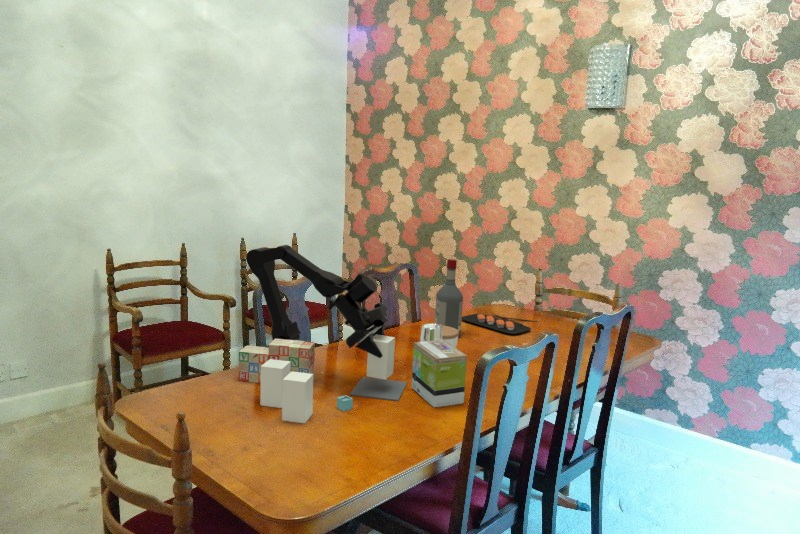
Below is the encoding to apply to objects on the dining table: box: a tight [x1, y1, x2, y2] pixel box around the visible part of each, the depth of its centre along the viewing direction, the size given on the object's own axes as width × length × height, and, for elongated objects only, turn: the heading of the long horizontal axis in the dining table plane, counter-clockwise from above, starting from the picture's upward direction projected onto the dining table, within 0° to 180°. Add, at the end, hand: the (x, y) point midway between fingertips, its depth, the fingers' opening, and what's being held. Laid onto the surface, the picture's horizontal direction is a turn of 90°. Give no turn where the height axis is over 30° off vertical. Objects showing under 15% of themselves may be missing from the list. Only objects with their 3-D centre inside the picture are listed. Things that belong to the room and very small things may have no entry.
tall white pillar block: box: [281, 371, 314, 424], centre depth 151 cm, size 6×6×11 cm
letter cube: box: [336, 394, 354, 412], centre depth 159 cm, size 3×3×3 cm
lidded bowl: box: [440, 324, 459, 349], centre depth 206 cm, size 13×13×11 cm
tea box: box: [411, 339, 468, 409], centre depth 169 cm, size 15×10×15 cm, turn 24°
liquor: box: [434, 258, 464, 338], centre depth 228 cm, size 9×9×30 cm
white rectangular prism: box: [366, 334, 396, 380], centre depth 172 cm, size 6×6×11 cm
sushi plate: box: [461, 313, 540, 335], centre depth 253 cm, size 29×30×4 cm
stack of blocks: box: [238, 339, 316, 384], centre depth 175 cm, size 21×6×12 cm, turn 82°
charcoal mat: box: [349, 376, 408, 402], centre depth 173 cm, size 14×14×1 cm
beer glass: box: [419, 323, 442, 342], centre depth 189 cm, size 7×7×15 cm
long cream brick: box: [259, 359, 291, 409], centre depth 159 cm, size 6×6×11 cm
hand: (385, 353), depth 171 cm, fingers closed on white rectangular prism, 6 cm apart
